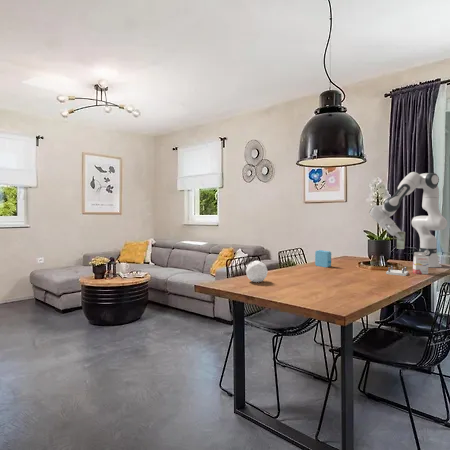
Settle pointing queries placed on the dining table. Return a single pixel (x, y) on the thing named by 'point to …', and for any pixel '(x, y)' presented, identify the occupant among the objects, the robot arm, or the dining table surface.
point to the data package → (323, 258)
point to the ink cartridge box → (420, 263)
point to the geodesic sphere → (256, 271)
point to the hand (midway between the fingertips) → (401, 238)
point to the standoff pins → (392, 269)
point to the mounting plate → (397, 272)
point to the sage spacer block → (401, 241)
